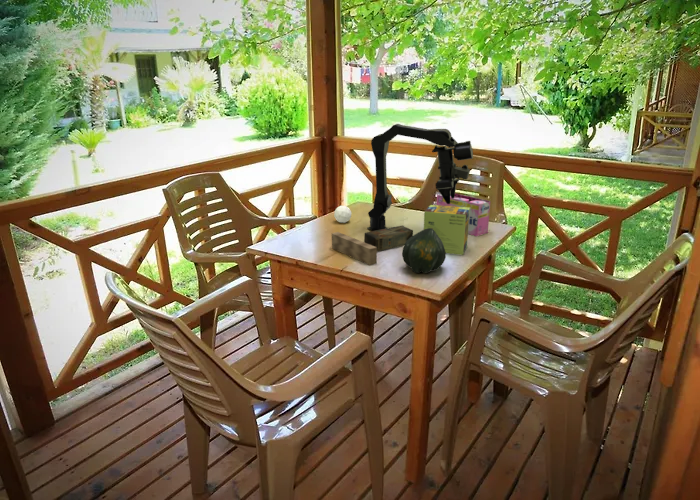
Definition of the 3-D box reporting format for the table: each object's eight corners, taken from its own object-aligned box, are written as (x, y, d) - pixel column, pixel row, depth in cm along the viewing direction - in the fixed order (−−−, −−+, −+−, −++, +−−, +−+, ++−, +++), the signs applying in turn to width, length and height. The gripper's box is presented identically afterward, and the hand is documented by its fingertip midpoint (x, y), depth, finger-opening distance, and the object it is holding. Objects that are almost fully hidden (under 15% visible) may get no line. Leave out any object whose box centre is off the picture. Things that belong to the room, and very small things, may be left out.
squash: (391, 259, 164) (423, 228, 159) (397, 246, 178) (427, 217, 172) (422, 288, 165) (455, 258, 159) (426, 273, 179) (456, 245, 173)
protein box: (463, 255, 182) (466, 214, 177) (422, 251, 187) (423, 211, 182) (467, 246, 191) (470, 207, 186) (428, 242, 197) (429, 204, 191)
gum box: (432, 223, 220) (433, 193, 215) (444, 220, 224) (445, 190, 220) (476, 236, 202) (479, 204, 197) (488, 232, 207) (491, 200, 202)
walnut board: (331, 248, 192) (331, 233, 189) (338, 246, 193) (337, 231, 191) (370, 265, 174) (370, 249, 172) (376, 263, 176) (376, 247, 174)
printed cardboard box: (413, 243, 196) (414, 228, 193) (374, 253, 186) (374, 237, 184) (401, 238, 202) (401, 223, 199) (362, 247, 192) (362, 232, 190)
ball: (339, 228, 224) (328, 216, 221) (345, 218, 229) (334, 205, 226) (351, 223, 219) (340, 209, 216) (357, 212, 225) (346, 199, 222)
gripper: (462, 163, 183) (467, 205, 187) (470, 155, 199) (475, 193, 203) (432, 167, 187) (438, 207, 192) (443, 159, 203) (448, 196, 208)
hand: (450, 200), depth 199 cm, fingers open, 9 cm apart
